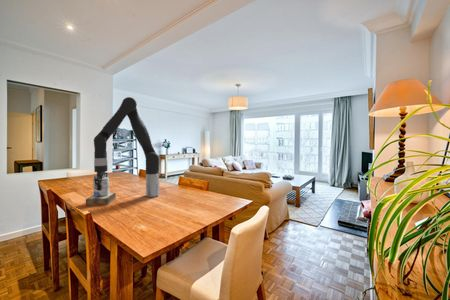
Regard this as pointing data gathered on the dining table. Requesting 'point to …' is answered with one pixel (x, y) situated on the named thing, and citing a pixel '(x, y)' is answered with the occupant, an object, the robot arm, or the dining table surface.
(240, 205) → the dining table surface
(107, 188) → the ink box
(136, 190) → the dining table surface
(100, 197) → the base
